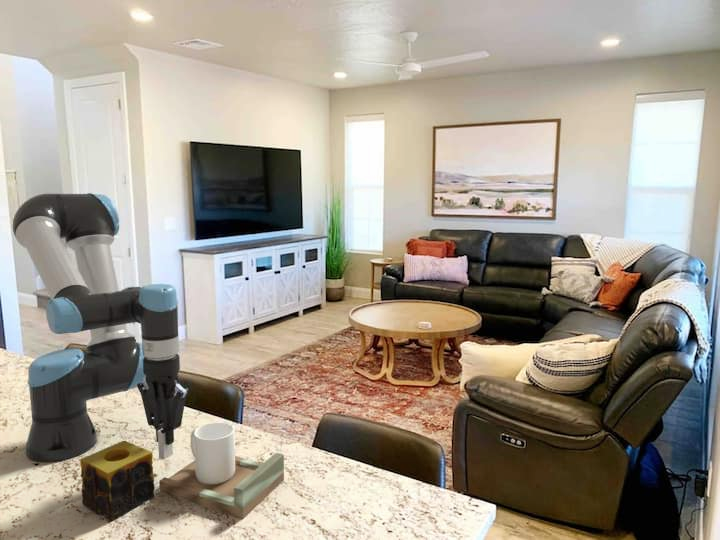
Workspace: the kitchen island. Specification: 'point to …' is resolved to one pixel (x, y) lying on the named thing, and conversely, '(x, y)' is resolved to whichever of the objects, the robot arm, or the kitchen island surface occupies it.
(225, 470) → the cup
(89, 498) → the candle
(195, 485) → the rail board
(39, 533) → the kitchen island surface
